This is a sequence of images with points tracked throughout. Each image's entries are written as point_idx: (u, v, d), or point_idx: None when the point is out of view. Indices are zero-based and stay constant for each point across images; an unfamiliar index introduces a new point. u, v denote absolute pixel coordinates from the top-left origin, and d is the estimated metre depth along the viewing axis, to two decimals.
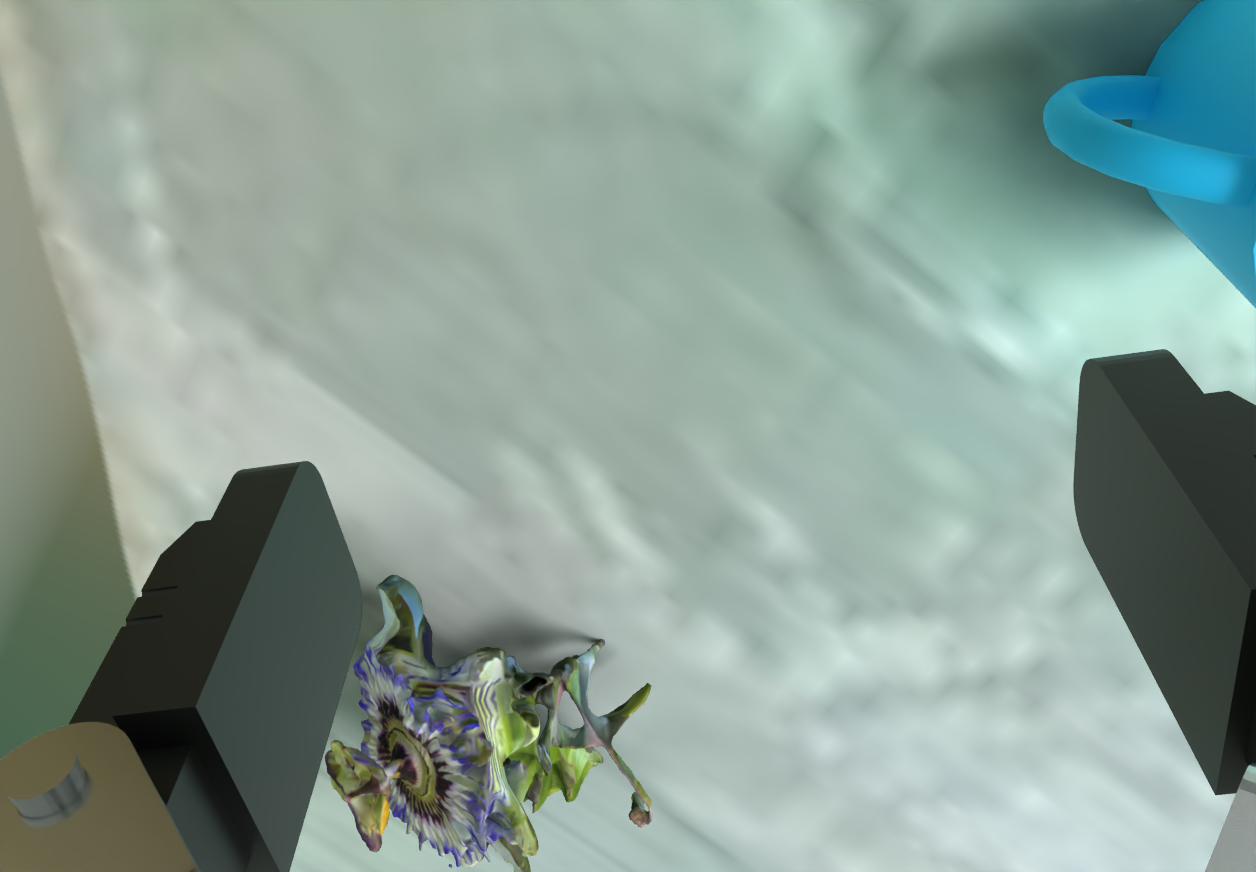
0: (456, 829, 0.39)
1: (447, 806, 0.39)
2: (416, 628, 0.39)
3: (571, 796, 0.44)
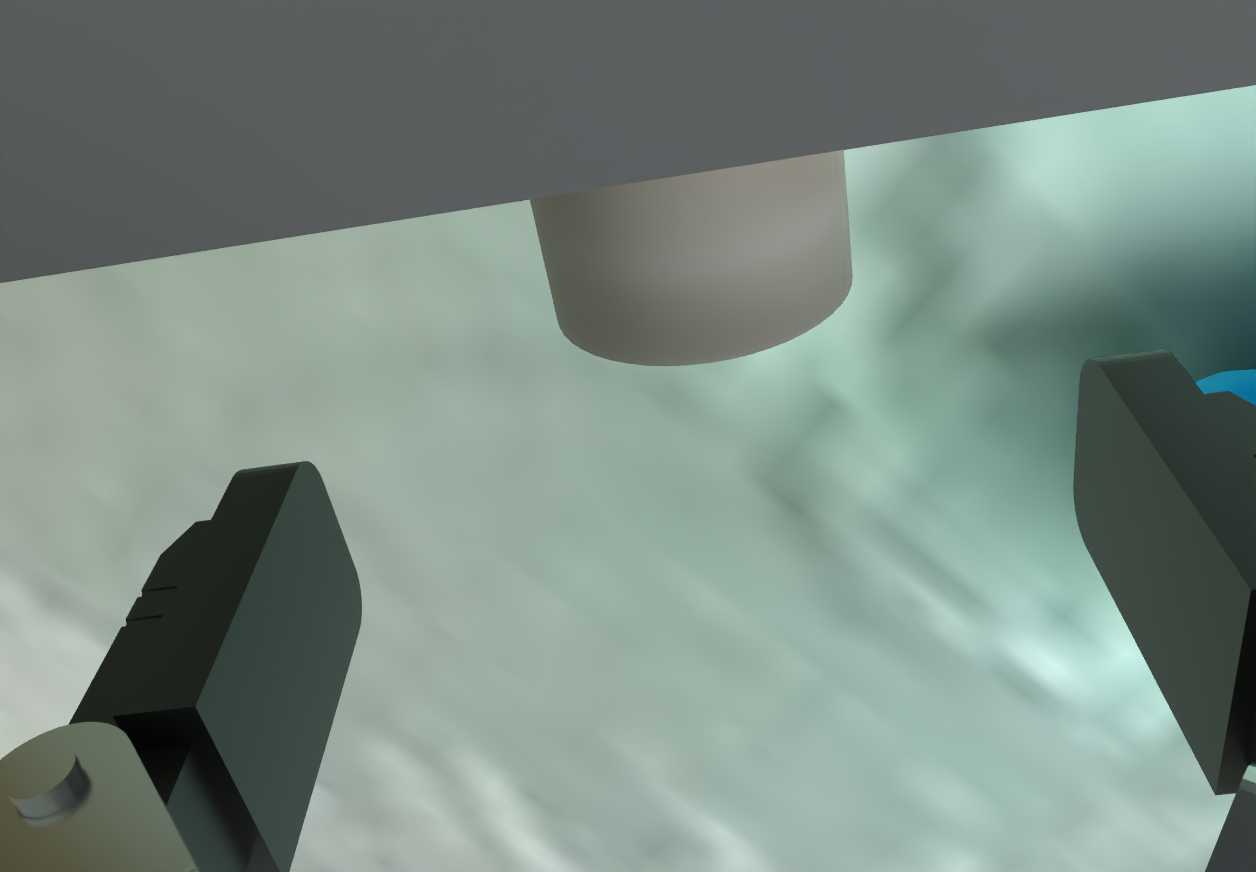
0: None
1: None
2: None
3: None
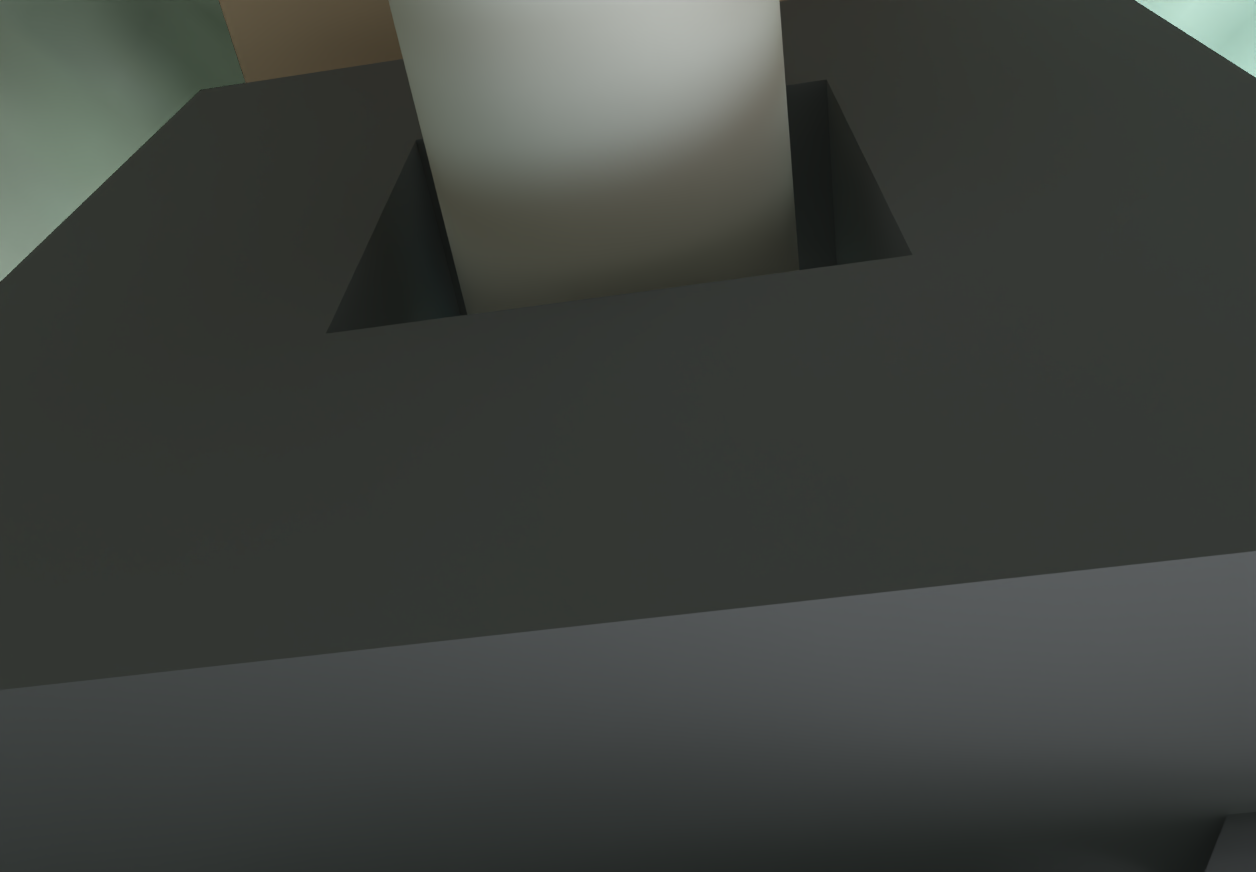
0: None
1: None
2: None
3: None
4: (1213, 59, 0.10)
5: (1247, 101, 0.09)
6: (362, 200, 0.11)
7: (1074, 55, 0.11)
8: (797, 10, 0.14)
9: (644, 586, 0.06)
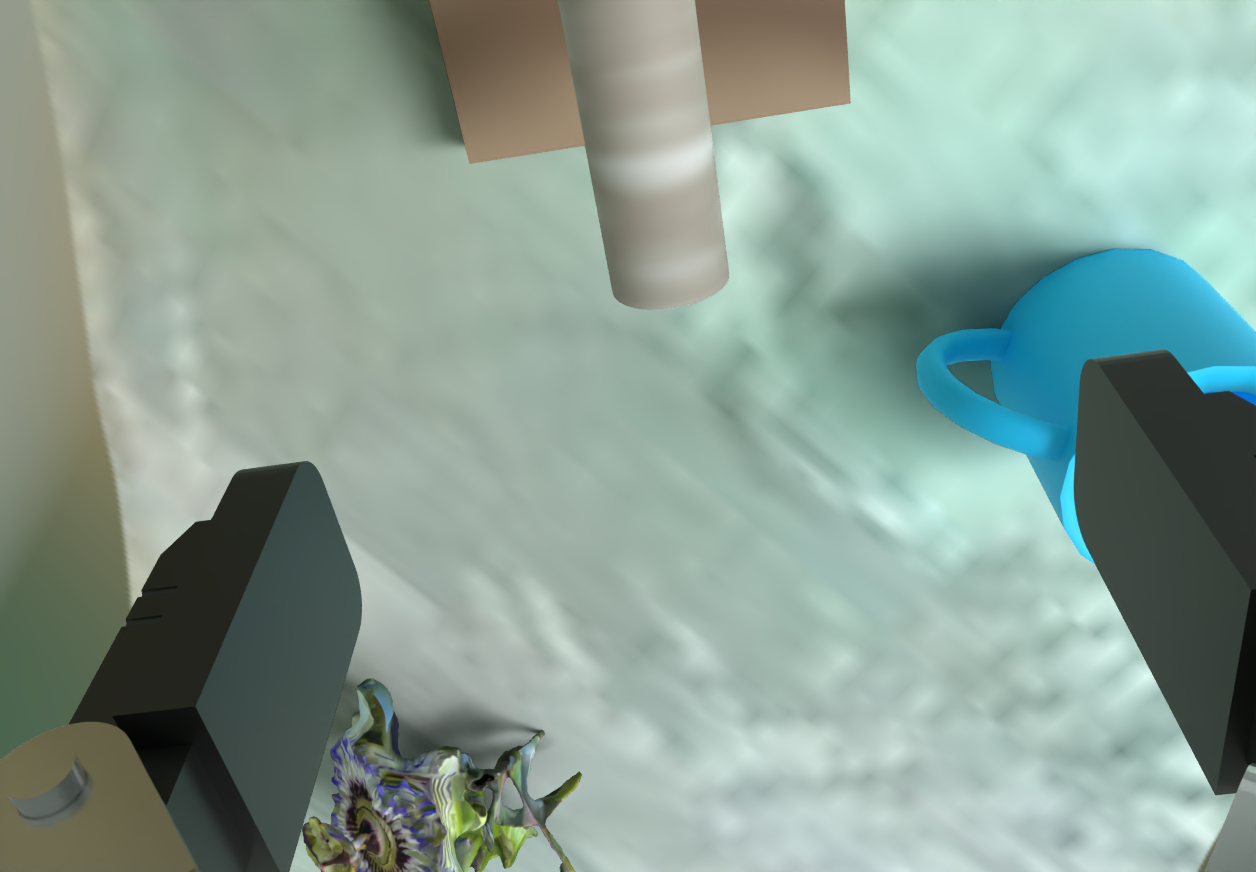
0: None
1: None
2: (387, 725, 0.47)
3: (508, 864, 0.52)
4: None
5: None
6: None
7: None
8: None
9: None
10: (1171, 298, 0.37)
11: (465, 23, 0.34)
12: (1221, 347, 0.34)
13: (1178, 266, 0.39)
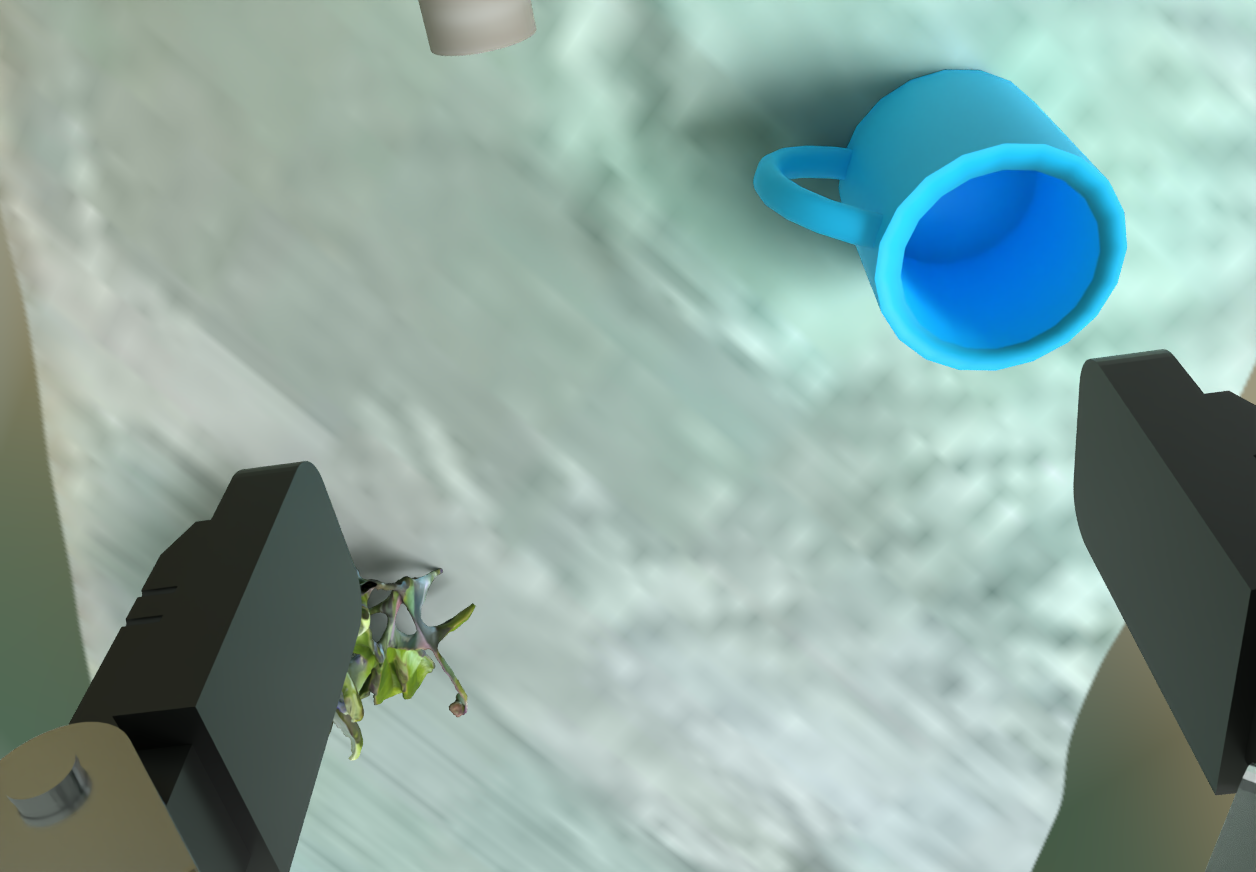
0: None
1: None
2: None
3: (406, 692, 0.55)
4: None
5: None
6: None
7: None
8: None
9: None
10: (984, 100, 0.40)
11: None
12: (1016, 132, 0.37)
13: (1003, 83, 0.42)
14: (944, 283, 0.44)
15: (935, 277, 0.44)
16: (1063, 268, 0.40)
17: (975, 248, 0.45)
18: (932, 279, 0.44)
